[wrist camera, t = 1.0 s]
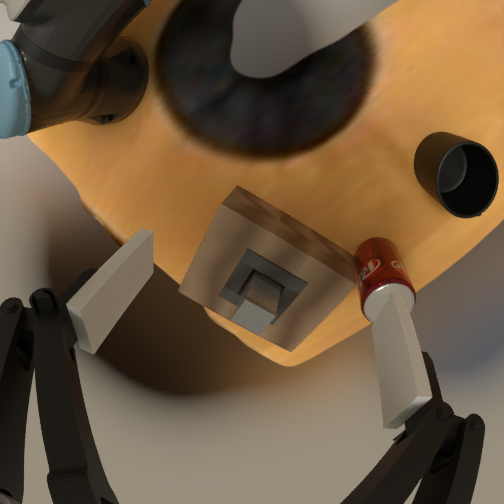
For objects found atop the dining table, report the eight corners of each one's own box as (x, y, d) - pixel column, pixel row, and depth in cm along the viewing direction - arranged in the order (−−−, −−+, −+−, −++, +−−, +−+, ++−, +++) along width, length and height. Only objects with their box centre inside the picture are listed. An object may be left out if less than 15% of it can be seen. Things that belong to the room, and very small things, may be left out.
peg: (244, 284, 43) (230, 320, 36) (257, 264, 41) (245, 299, 34) (268, 298, 43) (259, 335, 36) (283, 279, 41) (276, 315, 34)
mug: (441, 220, 38) (464, 247, 30) (400, 155, 35) (422, 170, 28) (484, 186, 34) (514, 207, 26) (447, 119, 31) (478, 125, 23)
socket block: (196, 263, 50) (177, 292, 43) (237, 185, 42) (220, 204, 35) (295, 319, 52) (290, 353, 45) (351, 254, 44) (357, 285, 37)
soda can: (352, 278, 46) (359, 329, 35) (353, 236, 42) (362, 282, 32) (395, 276, 44) (412, 325, 34) (399, 235, 41) (421, 279, 30)
